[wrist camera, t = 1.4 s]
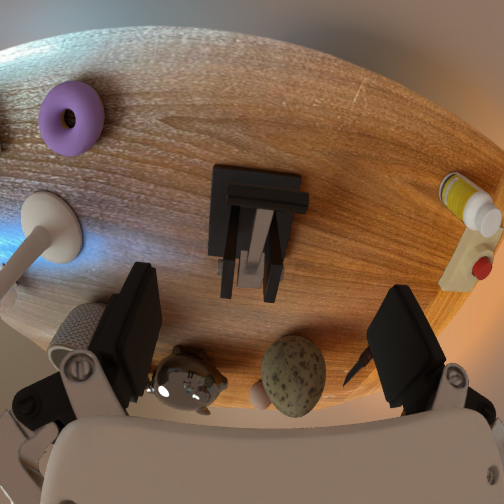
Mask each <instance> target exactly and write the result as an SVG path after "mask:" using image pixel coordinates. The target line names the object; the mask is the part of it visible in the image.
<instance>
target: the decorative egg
mask: <svg viewBox="0 0 504 504" xmlns="http://www.w3.org/2000/svg"><path fill="white" fill-rule="evenodd" d="M261 377H262V383H263V386H264V389H265V391H266V394H267V395H268V397H269V399H270V401H271V402H272V403H273V405H274V406H275V407H276V408H277V409H278V410H279V411H280V412H282V413H283V414H285V415H287V416H289V417H294V418H297V417H302V416H304V415H306V414H307V413H309V412H310V411H311V410H312V409H313V408H314V406H315V405H316V404H317V402H318V401H319V399H320V397H321V395H322V392H323V389H324V386H325V381H326V365H325V361H324V358H323V355H322V353H321V351H320V350H319V348H318V347H317V346H316V345H315V344H314V343H313V342H312V341H310V340H308V339H307V338H304V337H301V336H296V335H291V336H285V337H282V338H280V339H278V340H277V341H275V342H274V343H273V344H272V345H271V346H270V347H269V348H268V349H267V351H266V353H265V355H264V357H263V360H262V365H261Z"/></svg>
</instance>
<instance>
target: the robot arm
mask: <svg viewBox="0 0 504 504" xmlns="http://www.w3.org/2000/svg"><path fill="white" fill-rule="evenodd" d="M161 324H162V313H161V306H160V299H159V291H158V283H157V275H156V269H155V268H153V267H151V264H150V263H144V262H135V263H134V265H133V267H132V269H131V271H130V273H129V275H128V277H127V279H126V281H125V283H124V285H123V287H122V289H121V292H120V294H115V293H114V294H113V295H112V296H111V298H110V300H109V302H108V304H107V306H106V308H105V310H104V312H103V315H102V317H101V319H100V321H99V323H98V325H97V328H96V330H95V332H94V334H93V337H92V339H91V341H90V344H89V346H88V348H87V350H86V349H77V350H73V351H71V352H69V353H68V354H67V355H66V356H65V357H64V358H63V359H62V361H61V364H60V371H59V372H57V373H55V374H53V375H51V376H48V377H46V378H44V379H42V380H40V381H38V382H36V383H34V384H32V385H30V386H28V387H25V388H24V389H22V390H20V391H19V392H18V393H17V394H16V395H15V397H14V399H13V403H12V409H11V410H10V411H8V410H7V409H6V410H5V411H4V412H3V413H2V414H1V415H0V487H1V488H2V490H3V491H4V493H5V494H6V496H7V497H8V498H9V500H10V501H11V502H12V503H13V504H504V424H503V422H502V421H501V420H500V419H499V418H498V417H497V418H496V411H495V408H494V406H493V404H492V402H491V401H489V400H488V399H487V398H485V397H484V396H482V395H480V394H479V393H478V392H476V391H475V390H473V389H472V388H470V387H469V386H468V385H469V379H468V375H467V374H466V371H465V370H464V369H463V368H462V367H461V366H459V365H458V364H456V363H449V364H447V365H446V366H445V365H444V362H445V361H446V357H445V355H444V353H443V351H442V349H441V347H440V345H439V343H438V340H437V338H436V336H435V334H434V332H433V330H432V328H431V326H430V324H429V323H428V321H427V319H426V317H425V315H424V313H423V311H422V309H421V307H420V306H419V304H418V302H417V300H416V298H415V297H414V295H413V293H412V291H411V289H410V288H409V286H407V285H398V284H396V285H394V286H393V287H392V288H390V289H389V291H388V293H387V295H386V297H385V299H384V301H383V303H382V305H381V306H380V308H379V310H378V312H377V314H376V316H375V317H374V319H373V321H372V323H371V324H370V326H369V328H368V330H367V334H366V335H367V340H368V343H369V346H370V349H371V352H372V355H373V358H374V362H375V365H376V368H377V371H378V375H379V378H380V381H381V385H382V388H383V392H384V395H385V399H386V401H387V402H389V404H390V408H396V407H400V406H402V405H403V408H404V409H403V412H402V414H401V416H400V417H396V418H392V419H385V420H379V421H373V422H366V423H358V424H350V425H341V426H330V427H316V428H298V429H297V428H295V429H252V428H229V427H217V426H206V425H196V424H186V423H178V422H171V421H164V420H157V419H150V418H141V417H135V416H129V414H128V413H127V411H126V408H127V407H128V405H129V401H130V402H135V403H137V400H138V396H143V394H144V390H145V385H146V381H147V377H148V373H149V369H150V365H151V361H152V357H153V354H154V350H155V346H156V342H157V339H158V335H159V331H160V328H161ZM50 444H54V446H53V449H52V452H51V455H50V458H49V461H48V465H47V468H46V473H45V477H43V476H42V474H41V473H40V471H39V466H38V465H39V460H40V458H41V457H42V455H43V454H44V453H45V452H46V451H45V449H46V448H47V447H48V446H49V445H50Z"/></svg>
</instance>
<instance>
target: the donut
mask: <svg viewBox="0 0 504 504" xmlns="http://www.w3.org/2000/svg"><path fill="white" fill-rule="evenodd" d="M68 108H69V109H71V110H72V111H73V112H74V114H75V117H76V123H75V126H74V127H73V128H69V127H68V126H67V125H66V122H65V120H64V115H65V111H66V110H67V109H68ZM104 120H105V112H104V106H103V103H102V100H101V98H100V96H99V95H98V93H97V92H96V91H95V90H94V89H93V88H92V87H91V86H89V85H87V84H85V83H83V82H79V81H66V82H63V83H61V84H59V85H57V86H55V87H54V88H53V89H52V90H50V91H49V92H48V94H47V95H46V97H45V99H44V100H43V102H42V105H41V108H40V112H39V129H40V132H41V135H42V137H43V139H44V141H45V143H46V144H47V145H48V146H49V148H50V149H52V150H53V151H55V152H56V153H59V154H61V155H64V156H76V155H80V154H82V153H84V152H86V151H88V150H90V149H91V147H92V146H93V145H94V144H95V143H96V141H97V140H98V138H99V137H100V135H101V132H102V130H103V126H104Z"/></svg>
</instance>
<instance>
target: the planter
mask: <svg viewBox="0 0 504 504" xmlns="http://www.w3.org/2000/svg"><path fill="white" fill-rule="evenodd" d="M106 306H107V304H105V303H85V304H81V305H79V306H77V307H76V308H74V309H73V310H72V311H71V312H70V314H69V315H68V316H67V317H66V319H65V320H64V322H63V323H62V324H61V326H60V327H59V329H58V331H57V332H56V334H55V336H54V337H53V339H52V340H51V342H50V344H49V347H48V350H47V355H48V358H49V360H50V361H51V363H52V364H53V366H54V367H55V368H56V369H57V370H58V371H60V364H61V361H62V359H63V358H64V357H65V356H66V355H67V354H68V353H69V352H71V351H73V350H77V349H86V350H87V348H88V346H89V344H90V341H91V339H92V337H93V334H94V332H95V330H96V328H97V325H98V323H99V321H100V319H101V317H102V315H103V312H104V310H105V308H106Z"/></svg>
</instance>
